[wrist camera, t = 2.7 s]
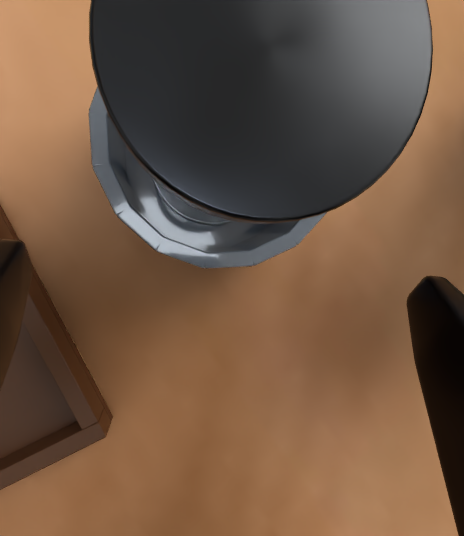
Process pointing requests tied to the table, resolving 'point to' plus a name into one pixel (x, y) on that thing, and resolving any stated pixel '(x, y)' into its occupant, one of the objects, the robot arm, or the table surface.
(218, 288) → the table surface
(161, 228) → the cup
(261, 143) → the metal tumbler
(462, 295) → the robot arm
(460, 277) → the table surface
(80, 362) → the tray
